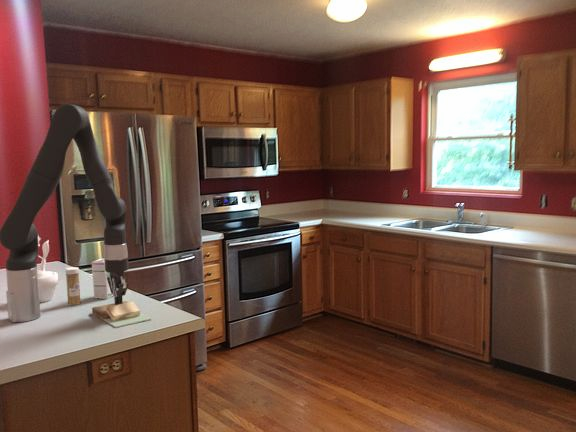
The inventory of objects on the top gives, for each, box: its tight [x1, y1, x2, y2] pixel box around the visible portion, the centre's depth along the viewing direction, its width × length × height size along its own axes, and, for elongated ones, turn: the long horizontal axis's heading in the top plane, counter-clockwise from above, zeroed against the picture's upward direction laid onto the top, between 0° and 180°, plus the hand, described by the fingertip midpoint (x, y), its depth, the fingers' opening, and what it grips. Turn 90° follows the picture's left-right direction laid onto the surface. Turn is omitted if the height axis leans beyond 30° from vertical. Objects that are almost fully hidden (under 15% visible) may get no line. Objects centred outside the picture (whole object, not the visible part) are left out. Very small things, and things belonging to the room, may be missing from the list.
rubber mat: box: [103, 312, 152, 329], centre depth 174 cm, size 12×10×1 cm
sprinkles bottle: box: [65, 266, 82, 306], centre depth 193 cm, size 5×5×14 cm
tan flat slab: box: [91, 300, 129, 321], centre depth 182 cm, size 12×10×2 cm
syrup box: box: [91, 258, 114, 300], centre depth 202 cm, size 6×6×14 cm
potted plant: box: [37, 234, 59, 303], centre depth 197 cm, size 13×12×25 cm
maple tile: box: [107, 301, 141, 321], centre depth 176 cm, size 9×6×2 cm, turn 130°
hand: (118, 306), depth 179 cm, fingers closed
